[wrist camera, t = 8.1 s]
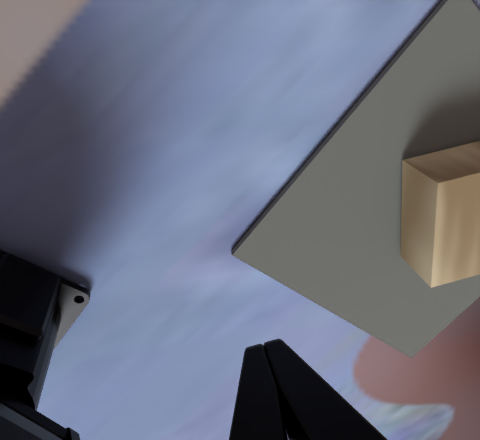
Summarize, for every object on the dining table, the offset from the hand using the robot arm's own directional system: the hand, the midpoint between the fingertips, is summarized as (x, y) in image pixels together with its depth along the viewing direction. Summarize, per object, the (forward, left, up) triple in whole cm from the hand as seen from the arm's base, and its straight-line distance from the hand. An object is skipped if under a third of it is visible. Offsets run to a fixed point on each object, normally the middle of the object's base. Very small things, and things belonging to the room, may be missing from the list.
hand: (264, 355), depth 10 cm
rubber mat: (+5, -12, -12) cm, 18 cm away
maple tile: (+4, -10, -10) cm, 15 cm away
